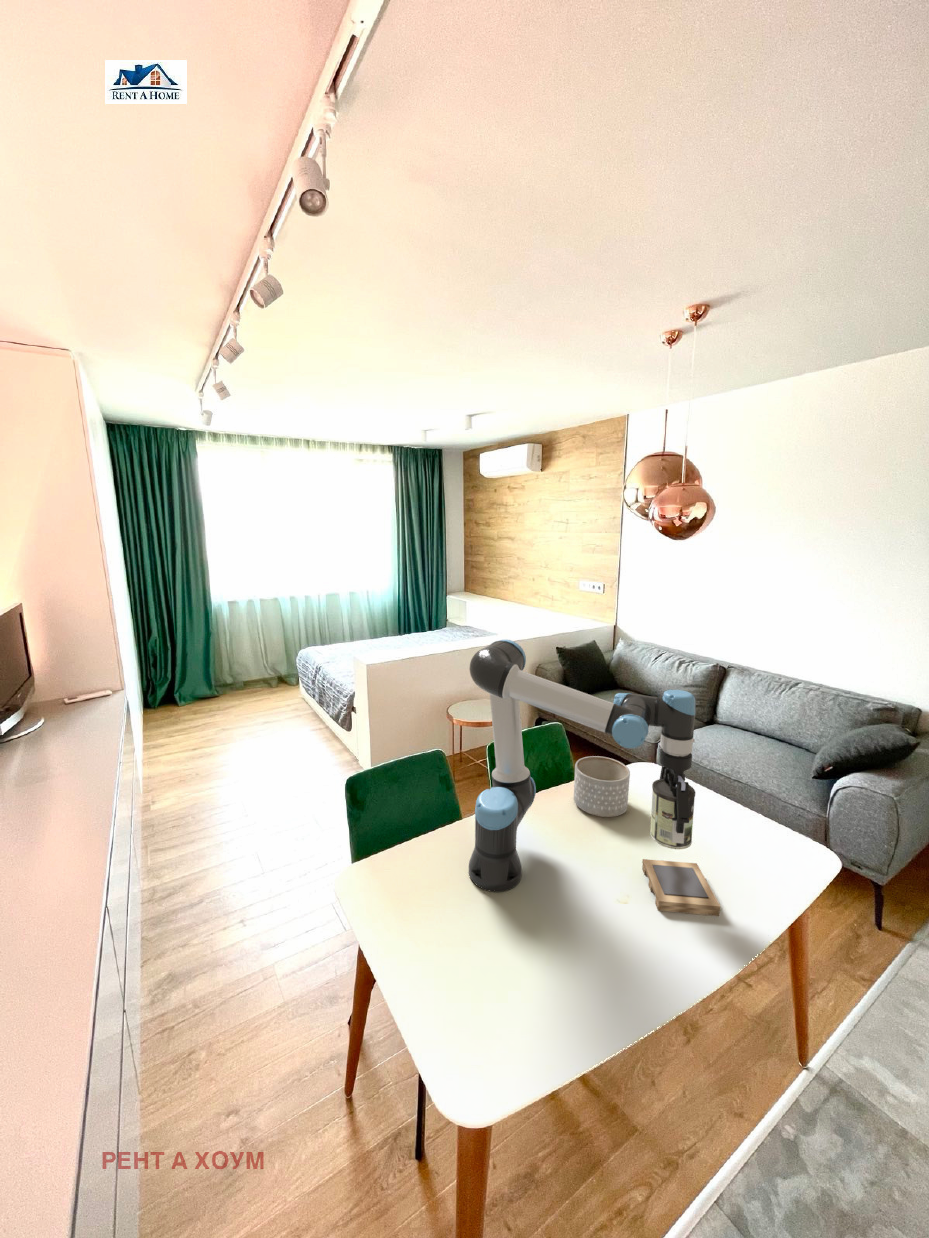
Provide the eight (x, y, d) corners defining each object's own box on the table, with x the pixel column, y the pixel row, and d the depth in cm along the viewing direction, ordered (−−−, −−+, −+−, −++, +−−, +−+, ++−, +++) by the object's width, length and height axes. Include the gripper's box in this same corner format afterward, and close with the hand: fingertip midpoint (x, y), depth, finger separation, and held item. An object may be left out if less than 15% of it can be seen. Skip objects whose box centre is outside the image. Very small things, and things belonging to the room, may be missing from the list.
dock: (658, 911, 120) (659, 899, 120) (641, 868, 136) (642, 857, 135) (719, 916, 118) (720, 905, 118) (695, 872, 134) (696, 862, 134)
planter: (593, 786, 181) (595, 751, 178) (637, 807, 167) (640, 770, 164) (562, 802, 169) (564, 766, 167) (607, 827, 155) (610, 787, 152)
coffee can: (686, 827, 128) (689, 780, 125) (696, 852, 118) (700, 800, 115) (646, 823, 130) (649, 776, 128) (653, 846, 120) (656, 796, 118)
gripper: (708, 772, 108) (701, 858, 112) (677, 733, 130) (672, 806, 134) (674, 770, 109) (669, 856, 113) (649, 732, 131) (645, 804, 135)
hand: (670, 829), depth 123 cm, fingers closed on coffee can, 10 cm apart
